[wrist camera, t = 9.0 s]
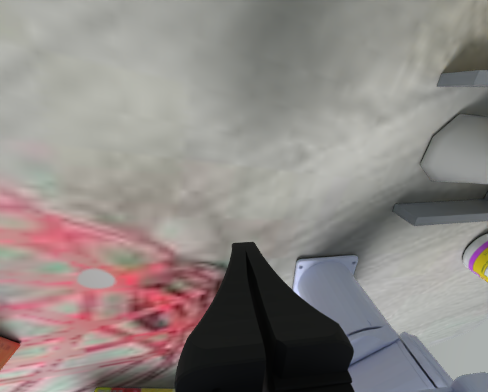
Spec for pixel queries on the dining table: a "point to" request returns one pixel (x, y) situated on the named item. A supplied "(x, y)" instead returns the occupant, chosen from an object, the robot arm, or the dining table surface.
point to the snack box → (133, 389)
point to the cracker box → (6, 350)
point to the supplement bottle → (478, 257)
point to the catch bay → (449, 209)
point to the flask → (459, 151)
